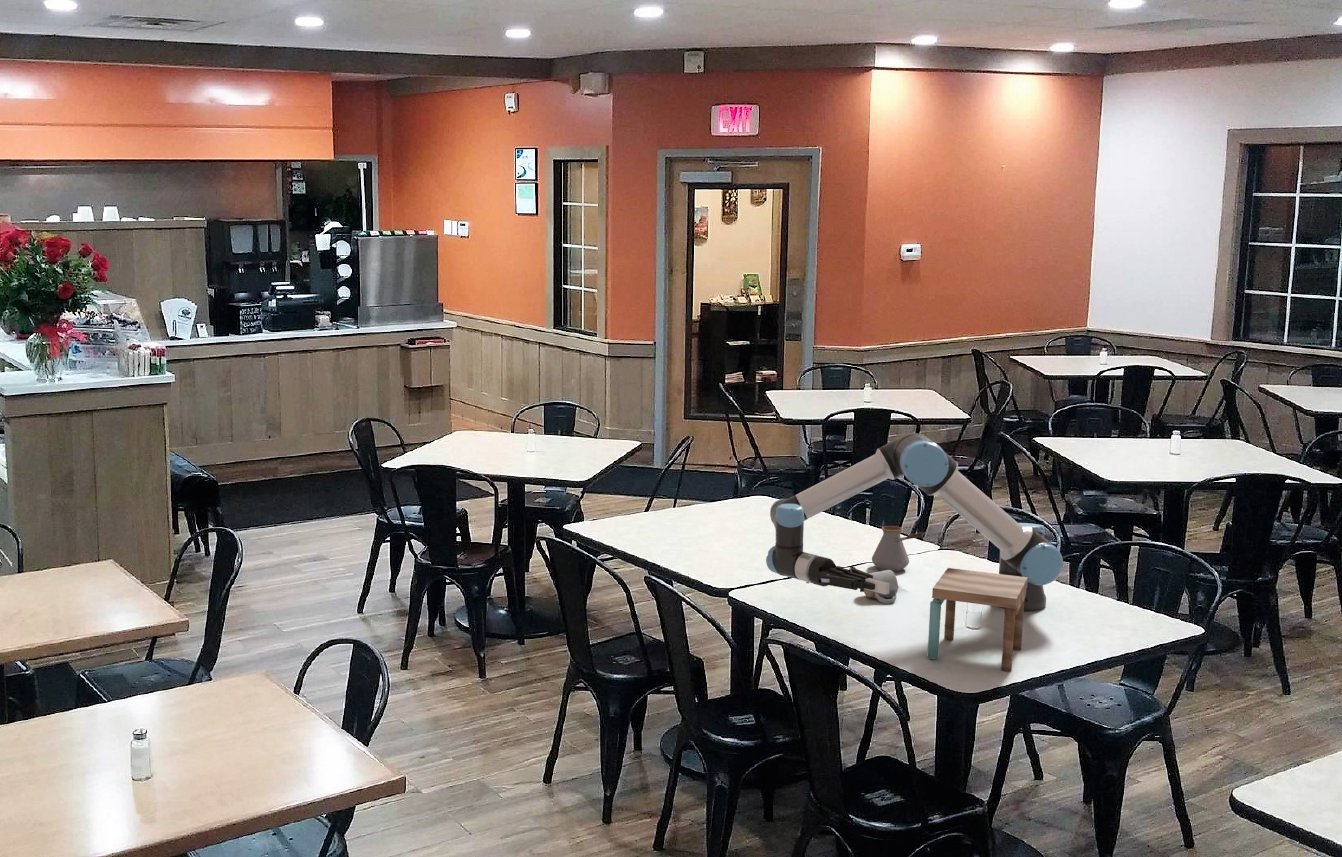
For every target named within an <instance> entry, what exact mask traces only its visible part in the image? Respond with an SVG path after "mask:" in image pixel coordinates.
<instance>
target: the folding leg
mask: <svg viewBox="0 0 1342 857" xmlns="http://www.w3.org/2000/svg"><path fill="white" fill-rule="evenodd" d="M944 601H945V600H944V599H936V598H932V600H931V601H930V603H929V604H930V605H929V606H930V607H929V621H928V622H929V623H928V641H927V658H928V659H930V660H937V659H939V652H940V651H939V649H940V646H939V645H940V634H941V632H940V631H941V615H942V614H941V612H942V611H941V610H942V605H943V604H944Z"/></svg>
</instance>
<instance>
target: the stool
mask: <svg viewBox="0 0 1342 857" xmlns="http://www.w3.org/2000/svg"><path fill="white" fill-rule="evenodd" d="M1027 580H1028V577H1020V576H1011V575H1003V574H999V573H994V572H985V571H975V570H970V569H969V570H968V569H960V568H953V567H947V568H946V570H945V571H944V573H943V574H942V575H941V576H940V578H939V579H938V581H936V583H934V586H933V587H932V591H931V592H932V594H931V595H932V596H931V598H932V599H934V598H936V599H944V601H945V616H944V631H943V632H944V633H943V634H944V635H943V636H944V637H943V639H944V640H945V641H950V642H951V641H954V639H955V638H954V636H955V623H956V622H955V620H956V602H961V603H968V604H975V605H985V606H990V607H999V608H1003V607H1005V608H1004V619H1003V620H1004V622H1003V636H1002V652H1001V669H1000V670H1001V671H1002V672H1007V673H1008V672H1012V669H1013V668H1012V667H1013V652H1014V651H1021V650H1022V640H1023V624H1024V623H1023V622H1024V612H1025V611H1024V599H1025V597H1026V588H1027Z"/></svg>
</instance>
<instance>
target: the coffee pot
mask: <svg viewBox="0 0 1342 857" xmlns="http://www.w3.org/2000/svg"><path fill="white" fill-rule="evenodd" d="M881 531H882V534H883V535H882V536H881V539H880V541H879V542H878V544H877V546H876V548H875V550H874V553H873V554H872V557H871V561H872V564H873V565H874V566H875V567H876V568H877V569H878V570H880V571H885V570H891V571H893V572H894V573H898V572H902V571H904V569H905V568H906V567H908V565H909V564H910V559H909V555H908V553H907V550H906V548H905V544H904V543H903V541H906V540H910V539H911V540H912V539H917V538H918V537H921V538H922V539H923V540H928V538H929V535H928V533H926V532H924V531H923V532H918V533H913V534H909V535H906V536H904V537H901V533H902V531H903V528H902V527H901V526H895V525H885V526H882V527H881ZM924 535H926V536H927V537H926V538H924Z"/></svg>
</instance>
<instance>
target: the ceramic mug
mask: <svg viewBox="0 0 1342 857" xmlns="http://www.w3.org/2000/svg"><path fill="white" fill-rule="evenodd" d="M868 574H871V575H873V579H875V580H879V581H883V582H887V583H889V594H886V595H885V594H881V593H877V592H874V591H870V590H866V589H865V588H864V592H863V593H864V595H865V596H866V597H867V598H869V599H876V600H878V602H880V603H882V604H887V605H888V604H889V605H890V604H893V603H895V602H896V599H897V594H898V590H899V589H898V588H899V585H898V579H897V576H896V574H895V572H893V571H891V570H885V571H882V570H880V571H874V572H870V573H868ZM887 598H888V599H887ZM889 598H891V599H889Z"/></svg>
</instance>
